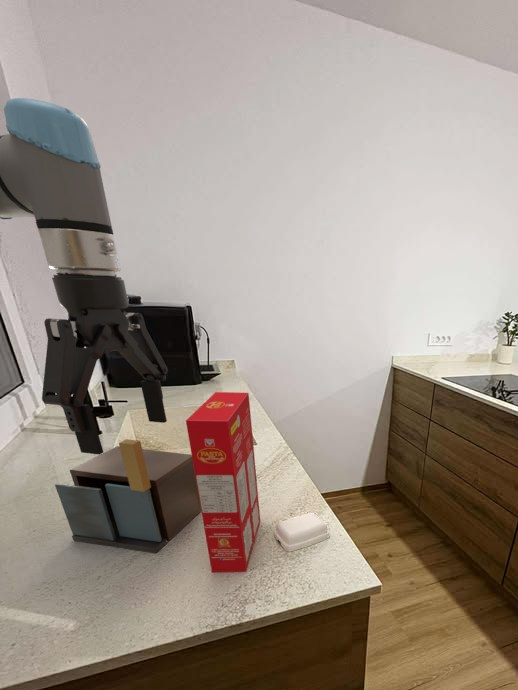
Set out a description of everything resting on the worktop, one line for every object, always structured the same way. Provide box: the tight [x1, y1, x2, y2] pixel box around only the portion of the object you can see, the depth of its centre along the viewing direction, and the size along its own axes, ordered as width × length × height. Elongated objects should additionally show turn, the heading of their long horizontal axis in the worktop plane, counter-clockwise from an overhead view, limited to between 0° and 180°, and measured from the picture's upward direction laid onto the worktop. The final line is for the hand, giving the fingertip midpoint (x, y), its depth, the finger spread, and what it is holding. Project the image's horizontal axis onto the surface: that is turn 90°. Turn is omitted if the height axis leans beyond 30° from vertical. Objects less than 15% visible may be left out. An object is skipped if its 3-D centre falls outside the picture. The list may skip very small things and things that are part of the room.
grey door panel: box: [105, 438, 162, 542], centre depth 62 cm, size 8×2×18 cm, turn 80°
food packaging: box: [185, 391, 261, 573], centre depth 62 cm, size 15×5×25 cm, turn 4°
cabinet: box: [54, 445, 202, 554], centre depth 69 cm, size 16×14×12 cm
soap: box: [273, 512, 331, 552], centre depth 70 cm, size 9×7×3 cm
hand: (128, 435), depth 57 cm, fingers open, 13 cm apart
